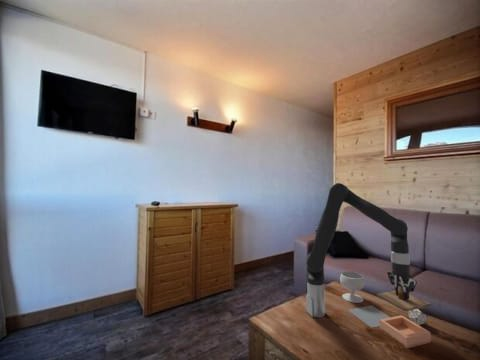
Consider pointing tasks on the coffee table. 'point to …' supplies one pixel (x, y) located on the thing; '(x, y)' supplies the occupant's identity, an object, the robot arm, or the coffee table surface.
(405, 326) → the pink square tray
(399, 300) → the lid
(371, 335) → the coffee table surface
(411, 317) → the game die
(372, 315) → the mat
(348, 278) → the chalice
